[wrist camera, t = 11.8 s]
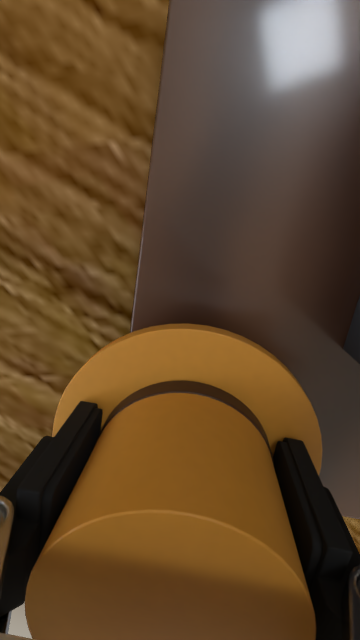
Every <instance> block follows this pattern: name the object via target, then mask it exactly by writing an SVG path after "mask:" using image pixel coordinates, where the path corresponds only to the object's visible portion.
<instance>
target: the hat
mask: <svg viewBox="0 0 360 640" xmlns="http://www.w3.org/2000/svg"><path fill="white" fill-rule="evenodd" d="M80 401H85V402H91V403H96V404H98V408H99V409H102V410H103V413H102V423H101V432H100V433H99V435H98V438H97V440H96V443H95V446H94V449H93V451H92V453H91V455H90V457H89V459H88V461H87V463H86V465H85V467H84V469H83V471H82V473H81V475H80V476H79V478H78V480H77V482H76V484H75V486H74V488H73V490H72V492H71V494H70V496H69V498H68V500H67V502H66V504H65V506H64V508H63V510H62V512H61V514H60V516H59V518H58V520H57V522H56V524H55V526H54V528H53V530H52V532H51V534H50V536H49V538H48V540H47V542H46V544H45V546H44V548H43V550H42V552H41V554H40V556H39V557H38V559H37V561H36V563H35V565H34V567H33V569H32V571H31V574H30V577H29V580H28V583H27V588H26V595H25V615H26V619H27V624H28V628H29V631H30V633H31V636H32V638H33V639H35V640H315V639H316V619H315V612H314V608H313V605H312V601H311V598H310V594H309V590H308V587H307V583H306V580H305V576H304V573H303V569H302V565H301V562H300V558H299V555H298V551H297V548H296V544H295V540H294V537H293V533H292V530H291V526H290V523H289V519H288V515H287V512H286V508H285V505H284V501H283V498H282V494H281V490H280V487H279V483H278V480H277V476H276V473H275V468H274V460H273V455H274V451H275V448H276V444H277V442H278V441H283V439H284V438H291V439H296V440H302V441H303V442H304V444H305V446H306V448H307V451H308V453H309V455H310V457H311V460H312V462H313V464H314V466H315V469H316V471H317V473H318V475H319V473H320V469H321V462H322V439H321V432H320V428H319V424H318V419H317V417H316V414H315V412H314V409H313V407H312V404H311V402H310V401H309V399H308V397H307V396H306V394H305V392H304V391H303V389H302V387H301V385H300V384H299V382H298V381H297V379H296V378H295V377H294V376H293V374H292V373H291V372H290V371H289V369H288V368H287V367H286V366H285V365H284V364H283V363H281V362H280V361H279V360H278V359H277V358H276V357H275V356H274V355H273V354H271V353H270V352H268V351H267V350H266V349H264V348H263V347H261V346H260V345H258V344H256V343H254V342H253V341H251V340H249V339H247V338H245V337H243V336H240V335H238V334H235V333H232V332H230V331H227V330H224V329H220V328H215V327H211V326H207V325H198V324H165V325H158V326H152V327H148V328H144V329H141V330H137V331H134V332H131V333H129V334H127V335H125V336H122V337H120V338H118V339H116V340H114V341H113V342H111V343H109V344H108V345H106V346H105V347H103V348H102V349H101V350H99V351H98V352H97V353H96V354H94V355H93V356H92V357H91V358H90V359H89V360H88V361H87V362H86V363H85V364H84V365H83V366H82V368H81V369H80V370H79V371H78V372H77V373H76V374H75V375H74V377H73V378H72V380H71V381H70V383H69V384H68V386H67V387H66V389H65V391H64V393H63V395H62V397H61V399H60V401H59V404H58V407H57V411H56V414H55V417H54V424H53V432H52V437H54V436H55V435H56V434H57V432H58V431H59V430H60V428H61V427H62V425H63V424H64V423H65V421H66V420H67V418H68V417H69V416H70V414H71V413H72V412H73V410H74V409H75V407H76V406H77V405H78V403H79V402H80Z"/></svg>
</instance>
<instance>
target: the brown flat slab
mask: <svg viewBox="0 0 360 640" xmlns="http://www.w3.org/2000/svg"><path fill="white" fill-rule="evenodd" d="M359 296H360V0H169V8H168V16H167V25H166V33H165V41H164V50H163V58H162V67H161V75H160V83H159V92H158V100H157V109H156V117H155V126H154V134H153V142H152V151H151V159H150V168H149V176H148V185H147V193H146V201H145V210H144V218H143V227H142V235H141V243H140V252H139V260H138V269H137V277H136V286H135V294H134V302H133V311H132V319H131V328H130V333H131V332H134V331H137V330H141V329H144V328H148V327H152V326H158V325H165V324H198V325H207V326H211V327H215V328H220V329H224V330H227V331H230V332H232V333H235V334H238V335H240V336H243V337H245V338H247V339H249V340H251V341H253V342H254V343H256V344H258V345H260V346H261V347H263V348H264V349H266V350H267V351H268V352H270V353H271V354H273V355H274V356H275V357H276V358H277V359H278V360H279V361H280V362H281V363H283V364H284V365H285V366H286V367H287V368H288V369H289V371H290V372H291V373H292V374H293V376H294V377H295V378H296V379H297V381H298V382H299V384H300V385H301V387H302V389H303V391H304V392H305V394H306V396H307V397H308V399H309V401H310V402H311V404H312V407H313V409H314V412H315V414H316V417H317V419H318V424H319V428H320V432H321V439H322V462H321V469H320V473H319V478H320V480H321V482H322V484H323V487H326V488H328V489H329V490H330V492H331V494H332V496H333V498H334V500H335V502H336V505H337V507H338V509H339V511H340V513H341V515H342V516H345V517H351V518H356V519H360V364H359V363H358V362H357V361H355V360H354V359H353V358H352V357H351V356H350V355H349V354H348V353H347V352H346V351H344V350H343V347H344V344H345V341H346V338H347V335H348V331H349V328H350V325H351V322H352V318H353V315H354V312H355V309H356V306H357V302H358V299H359Z"/></svg>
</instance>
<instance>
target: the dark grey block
mask: <svg viewBox="0 0 360 640" xmlns="http://www.w3.org/2000/svg"><path fill="white" fill-rule="evenodd" d="M343 350H344V351H346V352H347V353H348V354H349V355H350V356H351V357H352V358H353V359H354V360H355V361H357V362H358V363H359V364H360V296H359V299H358V302H357V306H356V309H355V312H354V315H353V318H352V322H351V325H350V328H349V331H348V335H347V338H346V341H345V344H344V347H343Z"/></svg>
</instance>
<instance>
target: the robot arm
mask: <svg viewBox="0 0 360 640" xmlns="http://www.w3.org/2000/svg"><path fill="white" fill-rule="evenodd" d="M102 413H103V410H102V409H99V408H98V404H96V403H91V402H85V401H80V402H79V403H78V405H77V406H76V407H75V409H74V410H73V412H72V413H71V414H70V416H69V417H68V418H67V420H66V421H65V423H64V424H63V425H62V427H61V428H60V430H59V431H58V432H57V434H56V435H55V436H54V437H50V436H45V437H43V438H42V439H41V441H40V442H39V443H38V444H37V446H36V447H35V448H34V450H33V451H32V452H31V454H30V455H29V456H28V457H27V459H26V460H25V461H24V463H23V464H22V465H21V466H20V468H19V469H18V470H17V472H16V473H15V474H14V475H13V477H12V478H11V479H10V481H9V482H8V483H7V484H6V486H5V487H4V488H3V490H2V491H1V492H0V640H35V639H30V638H25V637H19V636H15V635H9V634H8V630H9V624H10V618H11V611H12V610H13V609H15V608H17V607H18V606H20V605H22V604H23V603H24V601H25V595H26V588H27V583H28V580H29V577H30V574H31V571H32V569H33V567H34V565H35V563H36V561H37V559H38V557H39V556H40V554H41V552H42V550H43V548H44V546H45V544H46V542H47V540H48V538H49V536H50V534H51V532H52V530H53V528H54V526H55V524H56V522H57V520H58V518H59V516H60V514H61V512H62V510H63V508H64V506H65V504H66V502H67V500H68V498H69V496H70V494H71V492H72V490H73V488H74V486H75V484H76V482H77V480H78V478H79V476H80V475H81V473H82V471H83V469H84V467H85V465H86V463H87V461H88V459H89V457H90V455H91V453H92V451H93V449H94V446H95V443H96V440H97V438H98V435H99V433H100V432H101V423H102ZM273 460H274V468H275V473H276V476H277V480H278V483H279V487H280V490H281V494H282V498H283V501H284V505H285V508H286V512H287V515H288V519H289V523H290V526H291V530H292V533H293V537H294V540H295V544H296V548H297V551H298V555H299V558H300V562H301V565H302V569H303V573H304V576H305V580H306V583H307V587H308V590H309V594H310V598H311V601H312V605H313V608H314V612H315V619H316V639H315V640H360V554H359V552H358V550H357V548H356V546H355V543H354V541H353V539H352V537H351V535H350V533H349V530H348V528H347V526H346V524H345V522H344V520H343V517H342V515H341V513H340V511H339V509H338V507H337V505H336V502H335V500H334V498H333V496H332V494H331V492H330V490H329V489H328V488H326V487H323V484H322V482H321V480H320V478H319V475H318V473H317V471H316V469H315V466H314V464H313V462H312V460H311V457H310V455H309V453H308V451H307V448H306V446H305V444H304V442H303V441H302V440H296V439H291V438H284V439H283V441H278V442H277V444H276V448H275V451H274V455H273Z"/></svg>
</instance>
